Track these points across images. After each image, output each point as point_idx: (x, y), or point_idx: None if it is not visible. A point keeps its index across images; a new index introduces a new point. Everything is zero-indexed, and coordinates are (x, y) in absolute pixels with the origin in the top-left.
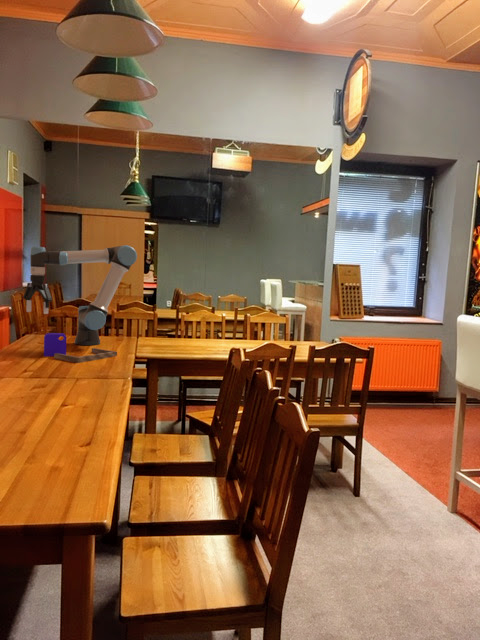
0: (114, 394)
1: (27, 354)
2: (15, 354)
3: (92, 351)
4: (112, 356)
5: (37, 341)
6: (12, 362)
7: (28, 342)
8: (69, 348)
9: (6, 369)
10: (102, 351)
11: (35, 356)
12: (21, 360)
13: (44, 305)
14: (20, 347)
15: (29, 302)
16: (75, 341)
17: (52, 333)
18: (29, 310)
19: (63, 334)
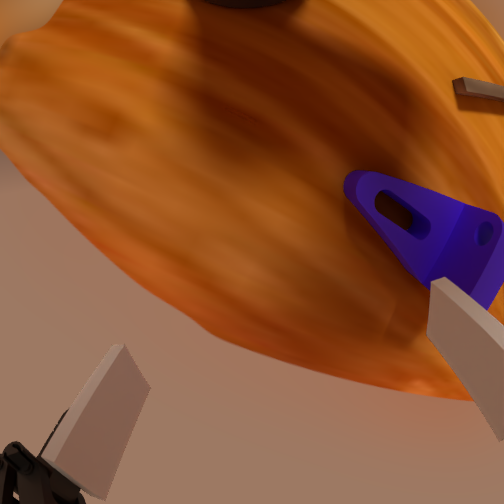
0: None
1: (366, 318)
2: (339, 349)
3: (463, 93)
4: None
5: (62, 128)
6: (428, 382)
7: (70, 174)
8: (323, 79)
9: (459, 398)
10: (497, 97)
11: (412, 310)
12: (427, 361)
13: (490, 397)
14: (184, 266)
15: (92, 458)
16: (234, 1)
17: (484, 285)
18: (132, 376)
19: None
